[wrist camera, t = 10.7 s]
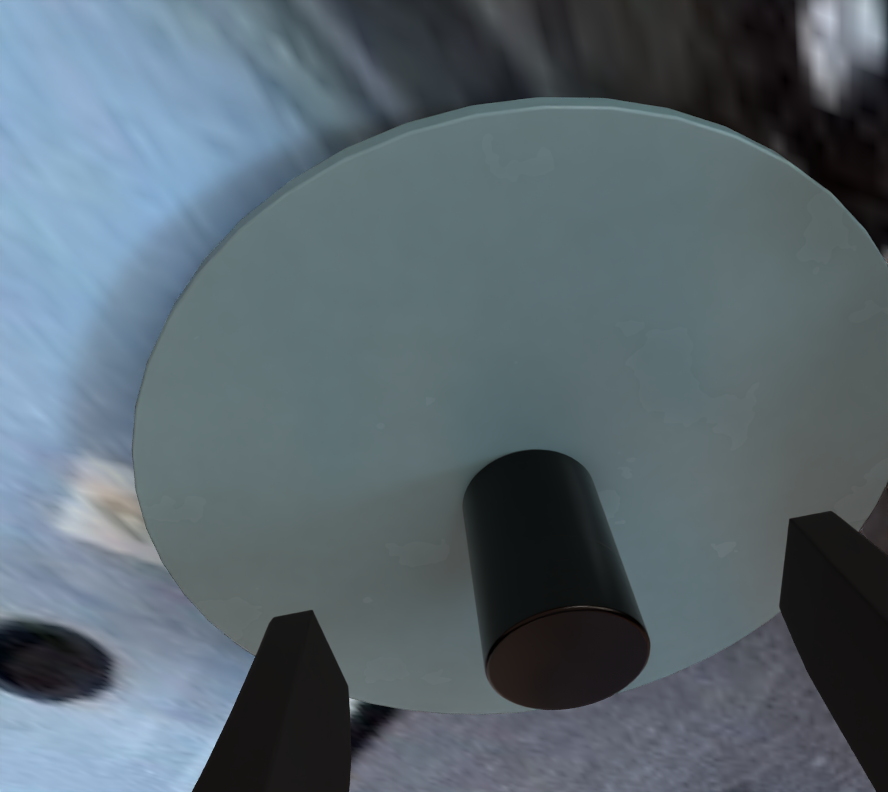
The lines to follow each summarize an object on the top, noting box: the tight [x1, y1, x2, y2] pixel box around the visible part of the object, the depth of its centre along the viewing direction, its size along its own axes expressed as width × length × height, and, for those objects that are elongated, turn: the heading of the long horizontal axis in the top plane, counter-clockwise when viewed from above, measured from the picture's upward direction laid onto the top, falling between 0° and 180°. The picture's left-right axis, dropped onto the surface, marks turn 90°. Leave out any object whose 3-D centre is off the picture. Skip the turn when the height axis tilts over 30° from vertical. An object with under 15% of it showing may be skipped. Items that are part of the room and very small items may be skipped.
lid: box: [132, 97, 888, 715], centre depth 12 cm, size 14×14×4 cm
